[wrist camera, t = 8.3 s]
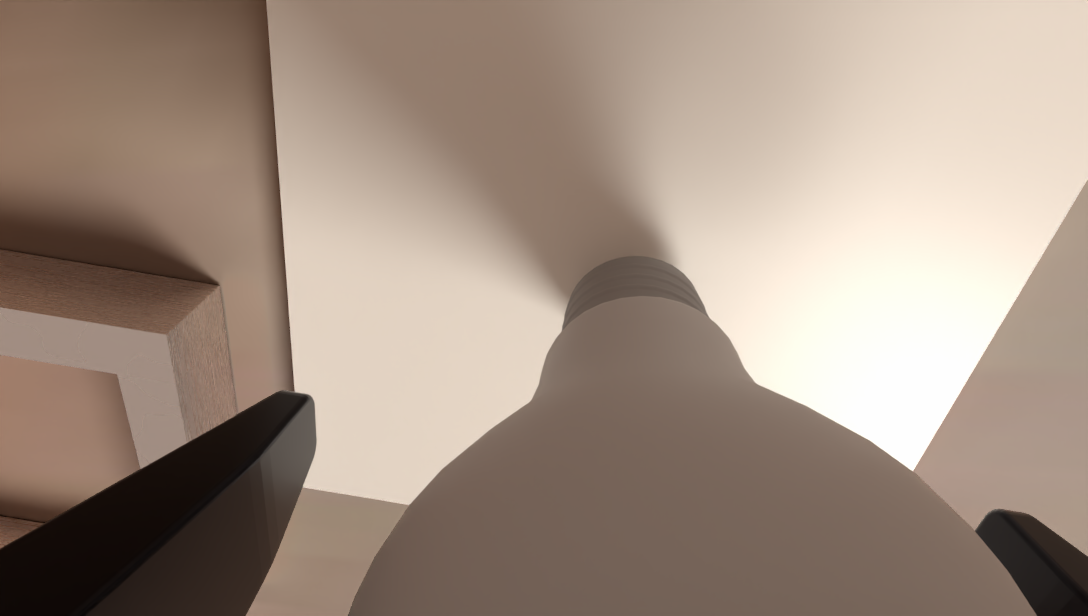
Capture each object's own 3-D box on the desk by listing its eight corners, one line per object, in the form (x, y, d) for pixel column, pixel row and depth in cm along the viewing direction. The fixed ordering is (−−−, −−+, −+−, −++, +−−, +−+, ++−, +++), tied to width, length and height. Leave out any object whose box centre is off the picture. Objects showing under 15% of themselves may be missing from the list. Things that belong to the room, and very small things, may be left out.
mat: (841, 557, 17) (848, 577, 16) (310, 470, 17) (301, 487, 16) (1191, -51, 10) (1224, -51, 9) (269, -203, 10) (250, -212, 9)
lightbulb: (778, 104, 11) (2180, 1381, 1) (802, 393, 14) (1281, 1454, 4) (435, 184, 12) (-215, 1175, 2) (523, 435, 15) (389, 1346, 5)
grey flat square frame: (259, 584, 19) (226, 648, 18) (-81, 528, 19) (-147, 586, 18) (219, 285, 14) (165, 334, 12) (-248, 208, 14) (-366, 246, 12)
